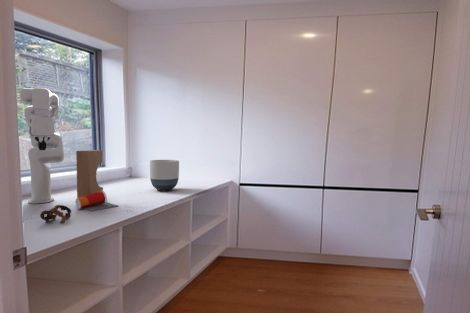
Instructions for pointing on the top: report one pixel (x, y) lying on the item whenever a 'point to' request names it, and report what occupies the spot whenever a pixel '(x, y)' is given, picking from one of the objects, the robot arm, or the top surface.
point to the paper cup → (91, 199)
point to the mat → (100, 206)
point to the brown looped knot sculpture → (56, 213)
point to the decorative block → (87, 171)
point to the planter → (164, 174)
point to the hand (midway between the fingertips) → (42, 150)
